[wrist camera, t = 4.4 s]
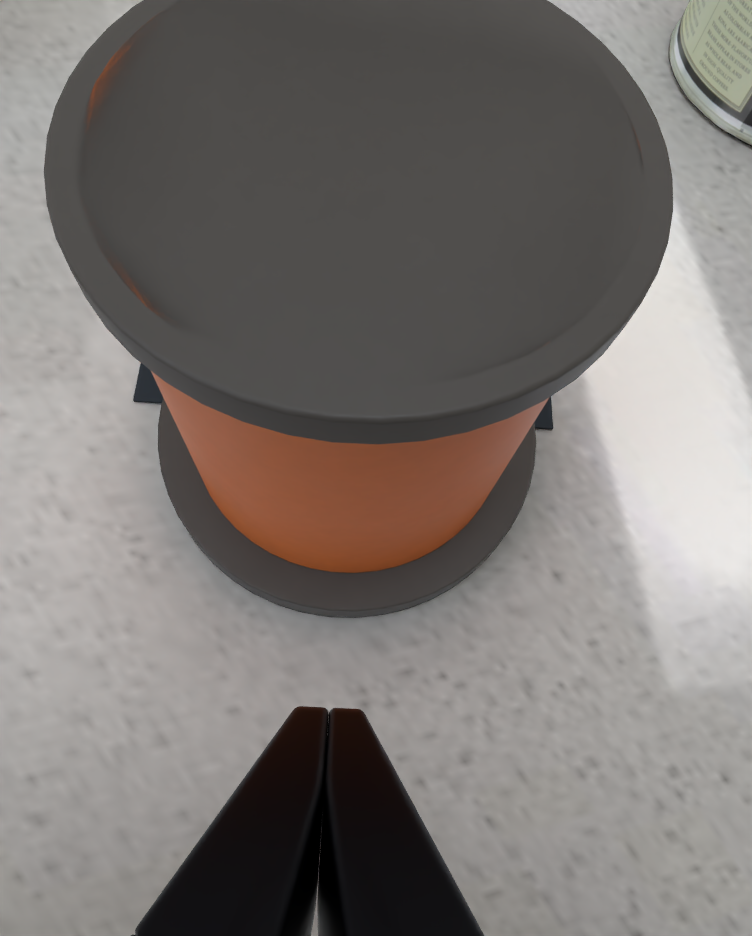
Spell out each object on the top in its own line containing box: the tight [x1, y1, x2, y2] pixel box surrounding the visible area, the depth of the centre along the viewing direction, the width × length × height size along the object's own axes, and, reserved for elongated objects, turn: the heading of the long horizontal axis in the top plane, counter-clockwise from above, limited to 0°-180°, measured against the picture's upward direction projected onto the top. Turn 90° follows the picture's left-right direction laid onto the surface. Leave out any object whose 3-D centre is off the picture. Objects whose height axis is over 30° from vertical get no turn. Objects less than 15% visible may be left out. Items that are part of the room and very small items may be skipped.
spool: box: [44, 0, 673, 618], centre depth 16 cm, size 11×11×11 cm
